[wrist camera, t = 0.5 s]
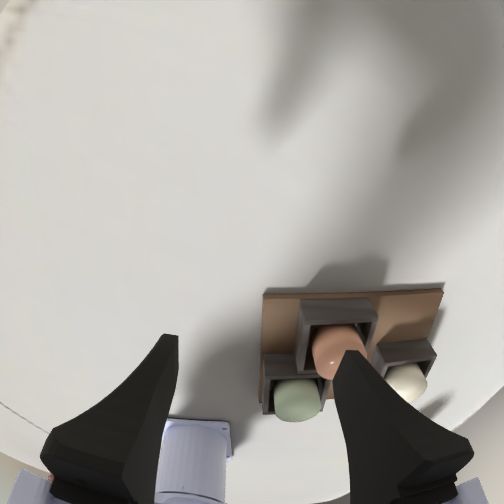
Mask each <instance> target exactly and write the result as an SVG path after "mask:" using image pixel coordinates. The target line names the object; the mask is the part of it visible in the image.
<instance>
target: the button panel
mask: <svg viewBox="0 0 504 504" xmlns="http://www.w3.org/2000/svg"><path fill="white" fill-rule="evenodd" d="M443 294H444V292H443V291H442V289H441V288H440V289H424V290H406V291H385V292H360V293H327V294H263V308H262V335H261V361H260V385H259V403H262V408H263V415H268V414H275V404H274V393H273V385H274V383H275V381H276V380H277V379H300V378H315V380H316V383H317V388H318V393H319V397H320V402H321V410H320V412H321V411H323V407H324V404H325V400H326V399H334V392H333V384H332V380H330V379H325V378H323V377H321V376H320V375H319V374H318V373H317V371H316V367H315V363H314V358H313V354H312V350H311V346H310V337H311V334H312V333H313V331H314V330H315V329H316V328H317V327H318V326H319V325H329V324H349V323H353V324H354V325H355V327H356V329H357V331H358V333H359V336H360V338H361V340H362V343H363V345H364V347H365V350H366V353H367V360H368V362H369V363H370V364H371V365H372V366H373V367H374V368H375V370H376V371H377V372H378V373H379V374H380V375H381V376H382V377H383V378H384V376H385V373H386V371H387V368H388V366H394V365H401V364H408V363H414V362H417V364H418V366H419V368H420V370H421V371H422V373H423V375H424V377H425V379H426V377H427V375H428V373H429V371H430V369H431V367H432V365H433V363H434V361H435V359H436V357H437V354H436V353H435V351H434V350H433V348H432V346H431V345H430V343H429V342H428V340H427V337H428V334H429V332H430V329H431V327H432V324H433V322H434V319H435V316H436V314H437V311H438V308H439V305H440V302H441V300H442V297H443Z"/></svg>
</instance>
